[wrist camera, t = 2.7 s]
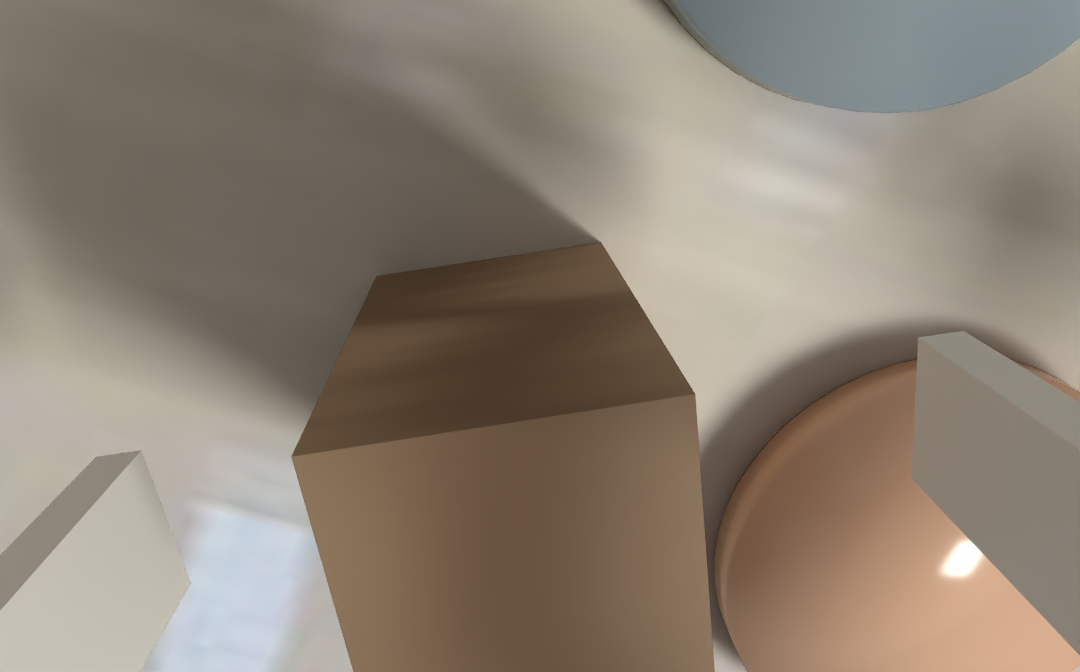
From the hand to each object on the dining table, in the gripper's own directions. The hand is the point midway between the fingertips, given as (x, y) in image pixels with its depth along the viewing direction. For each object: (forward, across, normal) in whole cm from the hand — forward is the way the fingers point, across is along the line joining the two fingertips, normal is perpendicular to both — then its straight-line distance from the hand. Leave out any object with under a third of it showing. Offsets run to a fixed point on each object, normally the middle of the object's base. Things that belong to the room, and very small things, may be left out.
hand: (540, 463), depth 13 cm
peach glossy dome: (+5, +9, -7) cm, 13 cm away
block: (+5, -1, 0) cm, 5 cm away
